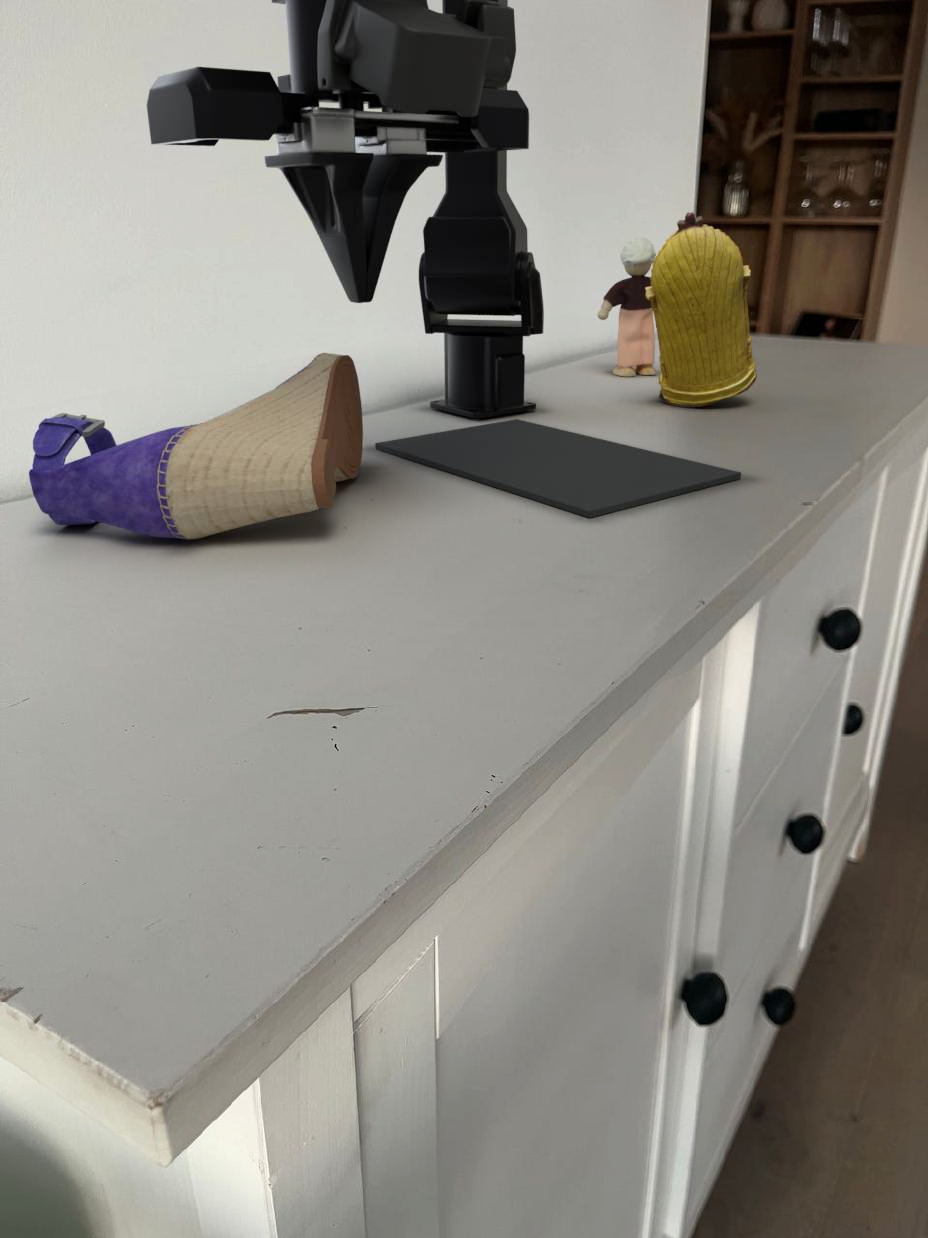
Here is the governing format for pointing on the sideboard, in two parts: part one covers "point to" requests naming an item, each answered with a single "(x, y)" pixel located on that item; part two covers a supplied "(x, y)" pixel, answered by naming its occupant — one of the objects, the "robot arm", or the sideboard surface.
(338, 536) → the sideboard surface
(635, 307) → the grandmother figurine
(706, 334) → the shrine
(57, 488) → the sandal
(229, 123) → the robot arm
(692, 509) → the sideboard surface
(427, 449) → the mat
